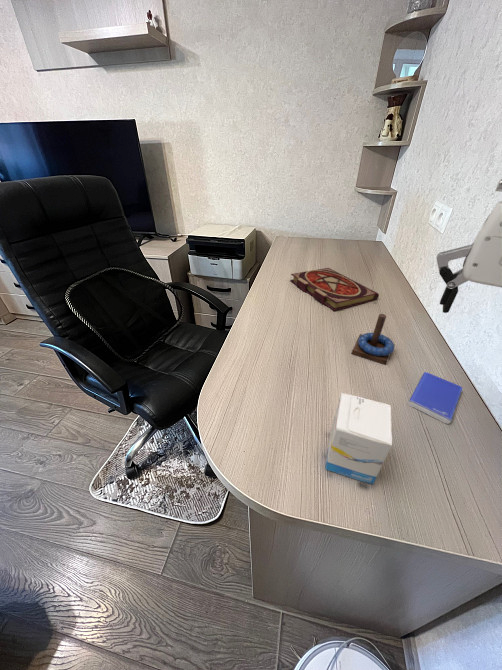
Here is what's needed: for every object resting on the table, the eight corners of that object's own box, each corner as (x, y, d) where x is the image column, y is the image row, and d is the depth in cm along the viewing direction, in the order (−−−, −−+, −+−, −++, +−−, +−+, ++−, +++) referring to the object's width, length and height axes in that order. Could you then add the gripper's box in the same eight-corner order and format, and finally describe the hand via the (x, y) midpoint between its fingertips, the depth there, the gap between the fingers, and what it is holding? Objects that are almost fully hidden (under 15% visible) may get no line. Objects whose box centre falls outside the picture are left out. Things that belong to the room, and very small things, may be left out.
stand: (391, 347, 79) (403, 312, 73) (385, 365, 73) (399, 328, 66) (359, 337, 83) (368, 304, 77) (351, 354, 77) (360, 318, 70)
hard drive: (451, 419, 57) (463, 387, 64) (409, 399, 61) (424, 371, 69) (448, 424, 58) (460, 391, 65) (407, 404, 62) (422, 375, 70)
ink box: (374, 486, 47) (394, 445, 41) (323, 469, 50) (335, 428, 43) (374, 444, 54) (391, 403, 47) (330, 431, 56) (340, 390, 50)
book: (377, 301, 103) (380, 288, 101) (332, 312, 96) (335, 299, 93) (328, 274, 124) (330, 263, 122) (288, 281, 116) (289, 270, 114)
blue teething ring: (394, 343, 78) (397, 337, 77) (390, 361, 72) (392, 355, 71) (361, 334, 82) (363, 328, 81) (354, 350, 76) (355, 344, 74)
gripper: (464, 191, 34) (416, 313, 43) (679, 204, 26) (563, 347, 36) (462, 184, 39) (420, 294, 49) (641, 194, 32) (549, 321, 41)
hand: (481, 317), depth 42 cm, fingers open, 9 cm apart
